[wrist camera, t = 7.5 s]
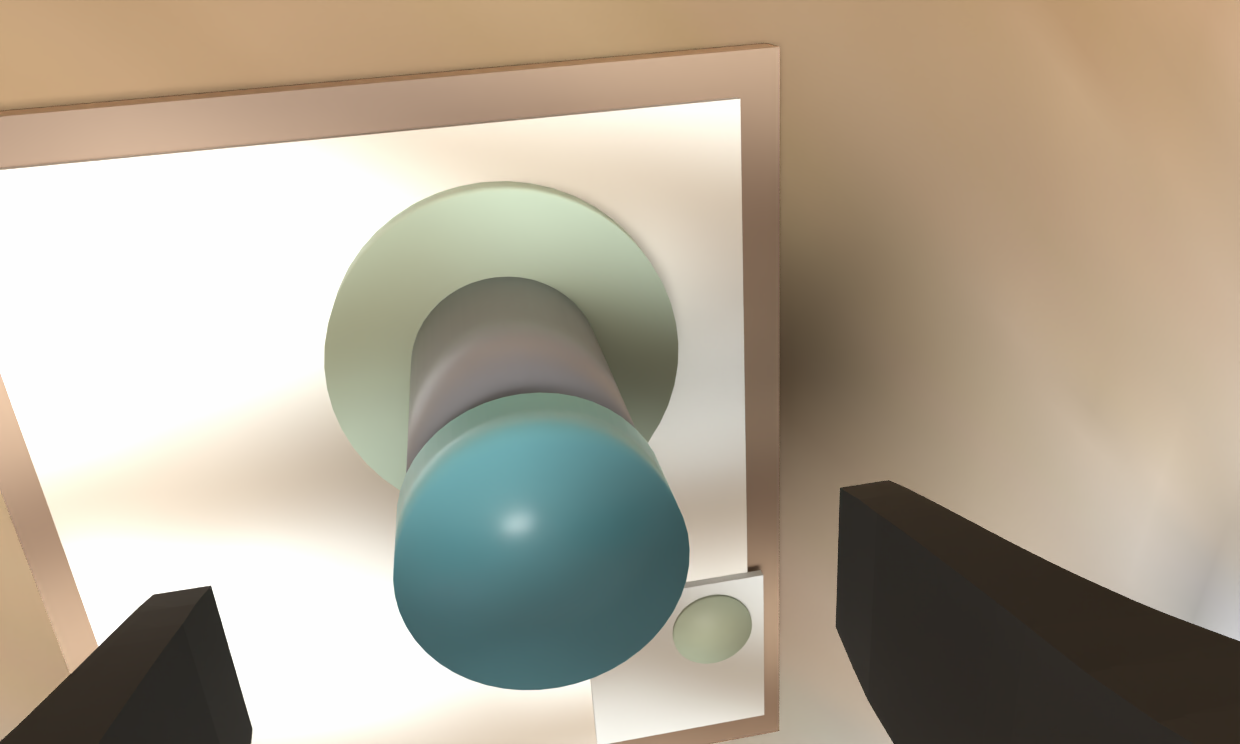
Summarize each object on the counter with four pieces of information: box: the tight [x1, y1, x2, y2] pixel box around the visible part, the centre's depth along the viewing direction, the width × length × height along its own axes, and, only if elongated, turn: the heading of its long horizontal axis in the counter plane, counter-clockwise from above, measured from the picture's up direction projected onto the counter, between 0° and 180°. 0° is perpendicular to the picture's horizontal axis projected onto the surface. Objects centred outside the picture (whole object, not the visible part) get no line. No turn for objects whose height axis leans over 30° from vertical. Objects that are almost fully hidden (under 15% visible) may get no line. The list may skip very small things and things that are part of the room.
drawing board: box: [0, 43, 780, 744], centre depth 19 cm, size 16×15×2 cm
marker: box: [393, 277, 690, 690], centre depth 15 cm, size 4×4×6 cm
